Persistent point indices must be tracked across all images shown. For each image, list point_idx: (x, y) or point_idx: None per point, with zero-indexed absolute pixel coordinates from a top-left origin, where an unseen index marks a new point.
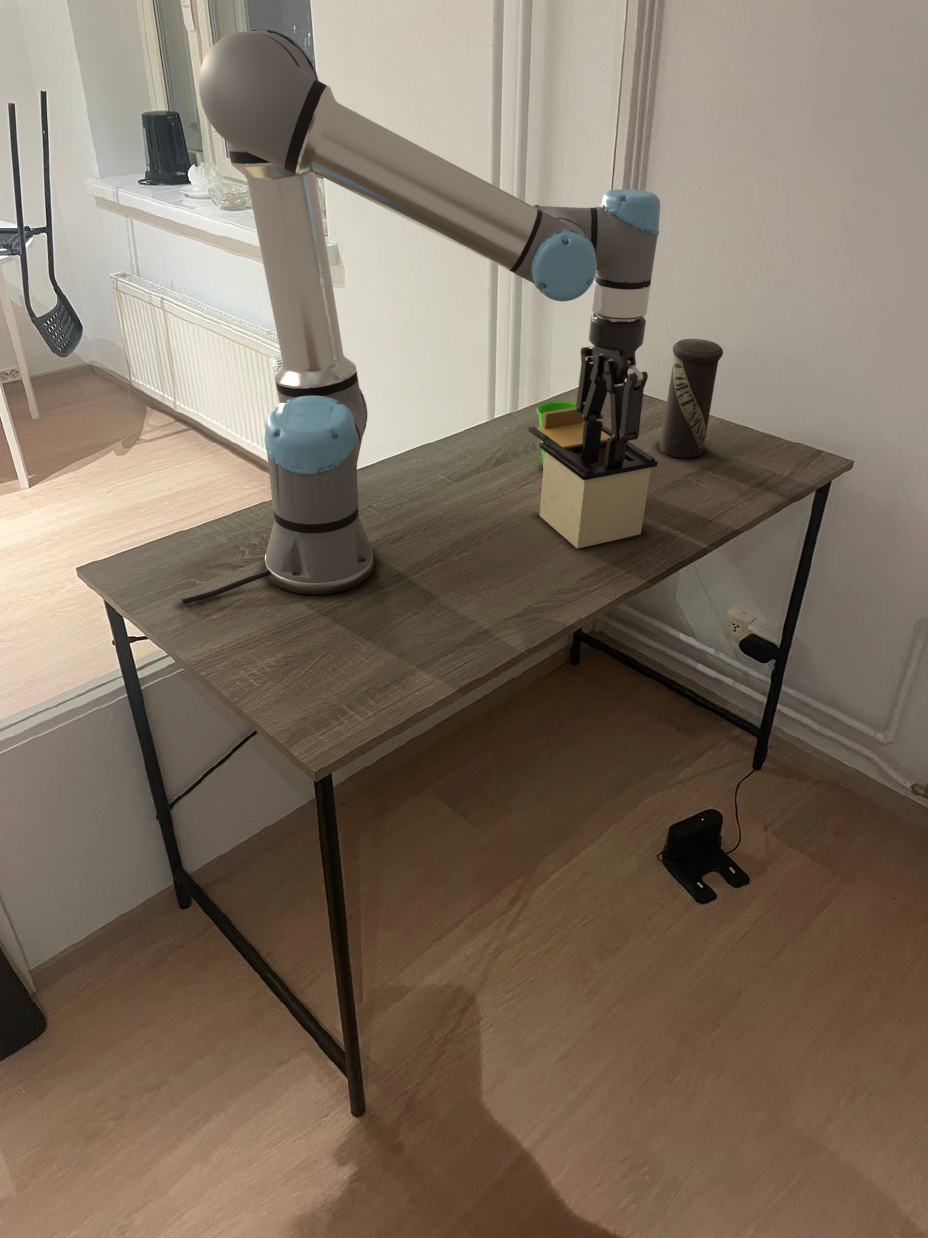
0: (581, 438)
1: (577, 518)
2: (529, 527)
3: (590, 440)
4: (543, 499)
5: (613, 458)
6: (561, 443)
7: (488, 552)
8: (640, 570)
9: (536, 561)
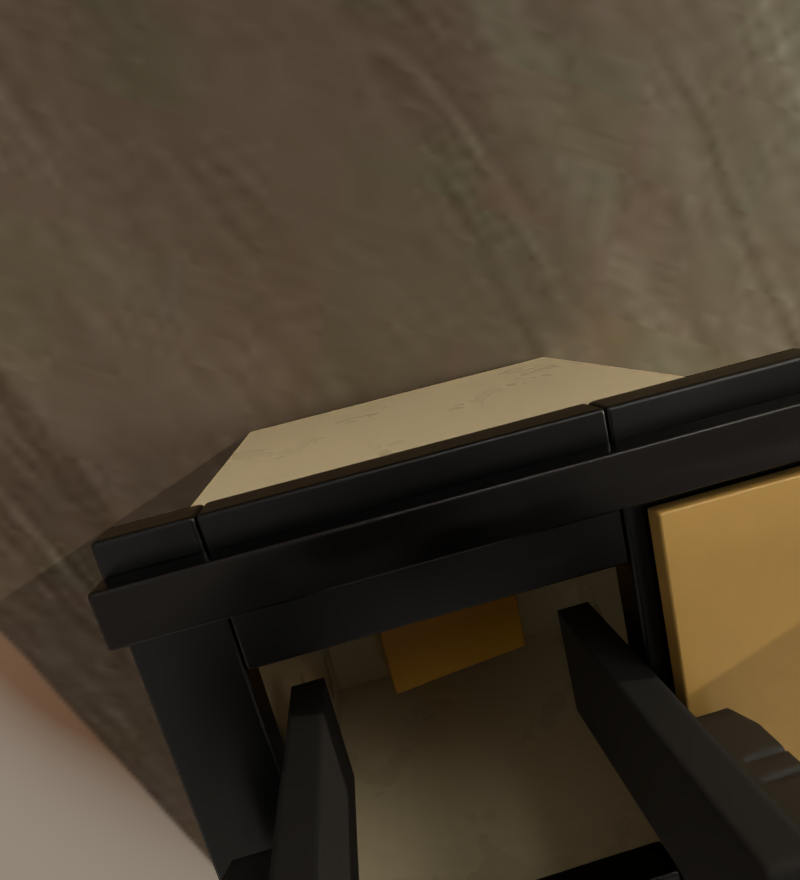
0: (778, 703)
1: (251, 453)
2: (456, 286)
3: (656, 769)
4: (555, 367)
5: (266, 868)
6: (729, 518)
7: (263, 29)
8: (56, 620)
9: (161, 230)
